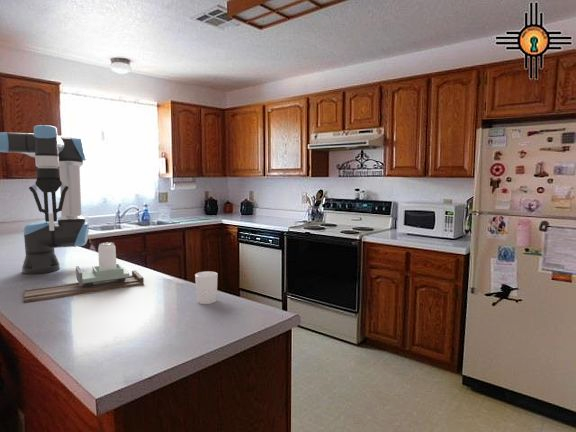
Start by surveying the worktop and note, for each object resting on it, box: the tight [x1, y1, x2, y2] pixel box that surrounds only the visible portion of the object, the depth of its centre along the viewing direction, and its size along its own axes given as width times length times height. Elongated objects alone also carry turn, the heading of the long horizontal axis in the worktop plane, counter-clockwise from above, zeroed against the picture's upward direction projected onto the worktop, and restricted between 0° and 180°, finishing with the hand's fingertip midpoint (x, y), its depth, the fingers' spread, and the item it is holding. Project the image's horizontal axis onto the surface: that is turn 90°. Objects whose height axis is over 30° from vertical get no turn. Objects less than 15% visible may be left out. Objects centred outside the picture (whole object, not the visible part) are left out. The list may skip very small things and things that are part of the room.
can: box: [97, 241, 117, 271], centre depth 159 cm, size 6×6×12 cm
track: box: [23, 269, 145, 303], centre depth 155 cm, size 15×41×3 cm, turn 123°
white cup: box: [194, 270, 218, 305], centre depth 139 cm, size 8×8×10 cm
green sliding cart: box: [75, 263, 130, 287], centre depth 158 cm, size 13×18×6 cm
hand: (51, 230), depth 147 cm, fingers closed
